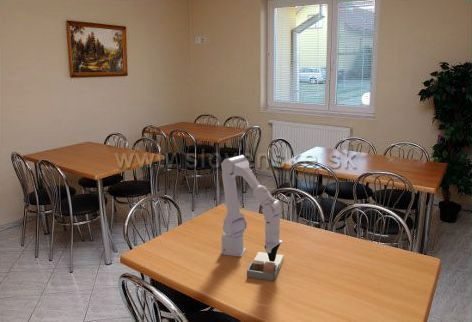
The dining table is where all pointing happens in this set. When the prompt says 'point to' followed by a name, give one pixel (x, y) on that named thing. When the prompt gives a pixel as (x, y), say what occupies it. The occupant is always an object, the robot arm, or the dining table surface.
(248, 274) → the grey box
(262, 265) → the walnut block
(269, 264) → the terracotta tile
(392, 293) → the dining table surface
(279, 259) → the white board
